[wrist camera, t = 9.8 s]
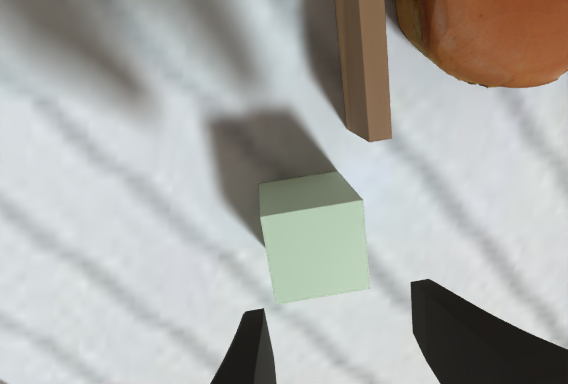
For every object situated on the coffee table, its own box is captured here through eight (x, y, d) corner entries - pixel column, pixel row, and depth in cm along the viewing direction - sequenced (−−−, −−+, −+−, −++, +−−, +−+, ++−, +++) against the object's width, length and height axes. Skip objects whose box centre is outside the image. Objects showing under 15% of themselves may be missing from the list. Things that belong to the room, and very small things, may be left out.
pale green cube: (337, 170, 20) (363, 199, 15) (344, 241, 21) (370, 288, 17) (258, 183, 20) (259, 217, 15) (271, 254, 21) (275, 304, 17)
